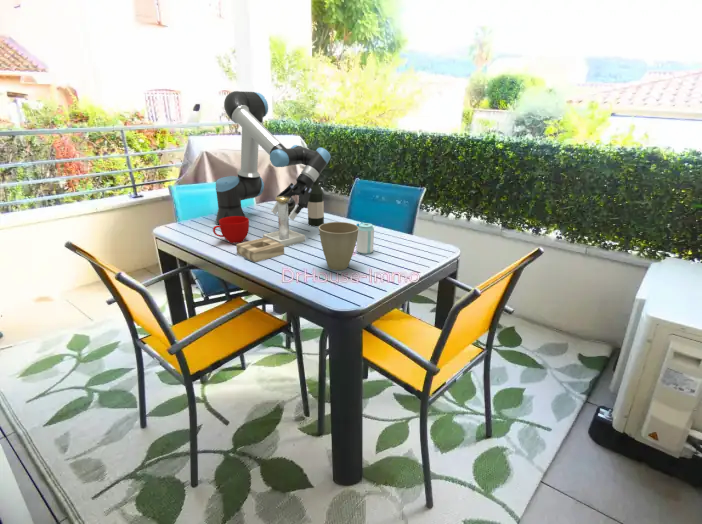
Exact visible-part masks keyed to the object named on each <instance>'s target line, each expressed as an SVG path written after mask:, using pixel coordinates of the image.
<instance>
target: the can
mask: <svg viewBox="0 0 702 524" xmlns="http://www.w3.org/2000/svg"><path fill="white" fill-rule="evenodd" d="M358 224H359V226H358V227H359V230H358V235H357V241H356V251H357V252H358V253H359V254H362V255H370V254H371V253H373V252H374V238H375V237H374V235H375V228H374V227H373V224H372V223H370V222H362V223H361V222H360V223H358Z"/></svg>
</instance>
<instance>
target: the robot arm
mask: <svg viewBox="0 0 702 524" xmlns="http://www.w3.org/2000/svg"><path fill="white" fill-rule="evenodd" d="M223 107H224V111H225V113H226V115H227V117H229V119H230V120H231V121H232V122H233V123H235V124H238V125H239V126H240V127H241V147H240V149H241V155H240V170H239V171H238V172H237V176H236V175H228V176H224V177H220V178H218V179H216V181H215V191H216V199H217V208H218V209H217V213H216V217H215V222H216V224H217V225H218V224H219V220H220V219H222V218H225V217H232V216H242V217H246V215H245V212H244V210H243V207H242V201H245V200H249V199H254V198H255V199H256V198H257V197H259V196H261V195H262V194H263V192H264V189H265V183H264V181H263V178H262V177H261V174H260V173H259V171H258V167H259V166H258V163H259V162H258V161H259V146H260V147H261V148H262V149H263V150H264V151H265V152H266V153H267V154H268V155H269V160H270V161H269V162H270V164H272V166H273V167H275V168H285V167H289V166H296V165H298V166H299V165H303V166H304V167H303V169H302V170H301V173H299V174H298V176H297V178H296V183H295V184H293V182H291V183H290V184H289V185H288V186H287V187H286V188H284V189H283V191H281V192H280V193H279V194H278V195H276V197H278V196H287V197H289V198H290V197H292V198H293V196H294V197H295V196H298V200H297V201H298V202H297V204H295V208H294V209H293V211H292V212H291V214H290V215H289V216H288V219H289V220H291V221H294V220H295V219H296V217H297V216H298V215H299V214H300V212H301V211H302V210H303V209H304V208H305V209H308V202H309V198H310V194H311V192H312V190H311V187H312V186H313V184H314V182H315V181H316V179H317V178H319V177H320V175H321V173H322V172H323V171H324V169H325V168H326V166H327V165H328V163H329V162H330V160H331V153H330V152H329V151H328V150H327V149H325V148H324V147H318V148H317V149H316V150H312V149H310V148H306V147H304V146H302V145H298V144H293V145H292V146H291V147H290V148H287V147H285V146H284V145H283V144H282V143H281V142H280V141H279V140H278V138H276V137H275V136H274V135H273V134H272V133H271V132H270V131H269V130H268V129H267V127H265V125H263V123H264V122H263V120H264V118H265V117H266V116H267V115H268V112H269V104H268V100H267V98H265V96H264V95H263V94H262V93H260V92H257V91H256V92H255V91H239V90H235V91H234V90H233V91H232V92H231V91H230V93H228V94H227V95H226V97H225V98H224V101H223ZM271 213H272V214H273V215H277V214H278V201H276V202H275V204H274V206H273V207H272V209H271Z"/></svg>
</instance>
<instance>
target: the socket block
mask: <svg viewBox="0 0 702 524" xmlns="http://www.w3.org/2000/svg"><path fill="white" fill-rule="evenodd" d="M235 244H236V254H238V255H240V256H241V257H244V258H246V259H247V260H249V261H252V262H254V263H257V262H261V261H264V260H265V261H266V260H268V259H271V258H275V257H278V255H279V256H282V255H285V247H284V245H283V244H280V243H278V242H275V241H273V240H270V239H268V238H265V237H264V238H263V237H261V238H257V239H252V240H248V241H243V242H240V243H235Z"/></svg>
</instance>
